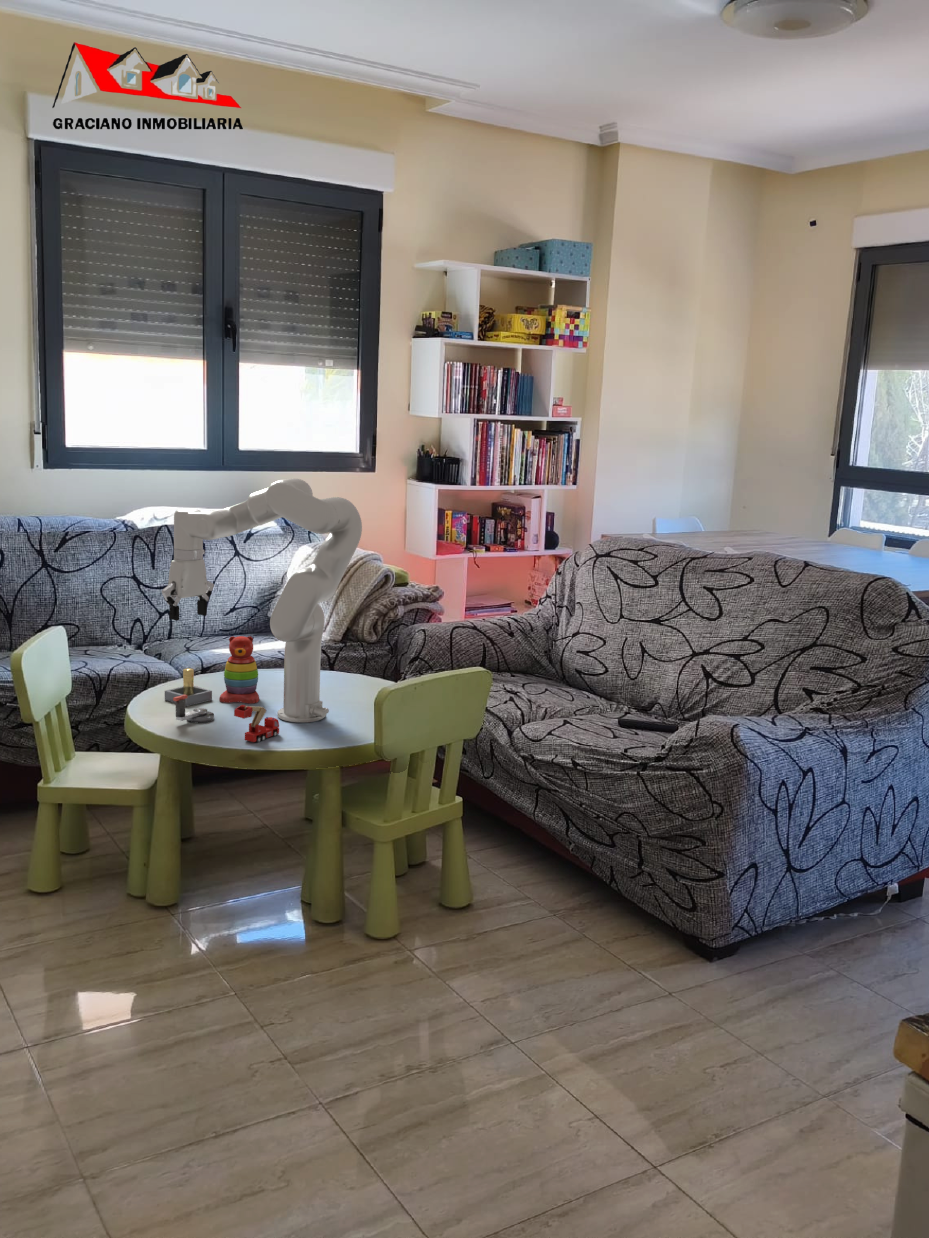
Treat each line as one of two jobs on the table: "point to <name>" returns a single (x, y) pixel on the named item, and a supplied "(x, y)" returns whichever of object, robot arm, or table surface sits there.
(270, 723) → the toy fire truck
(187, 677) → the pin
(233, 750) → the table surface
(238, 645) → the stacking bear
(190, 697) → the tray
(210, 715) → the hub
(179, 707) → the crank
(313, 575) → the robot arm
